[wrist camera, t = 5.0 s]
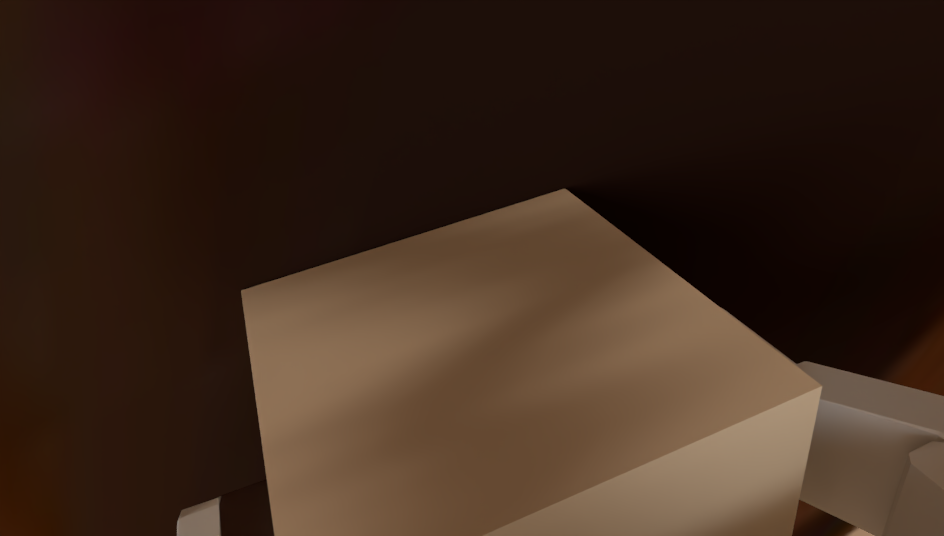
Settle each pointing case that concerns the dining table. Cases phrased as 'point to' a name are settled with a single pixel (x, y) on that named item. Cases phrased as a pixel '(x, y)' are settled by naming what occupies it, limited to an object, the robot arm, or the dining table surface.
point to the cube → (520, 390)
